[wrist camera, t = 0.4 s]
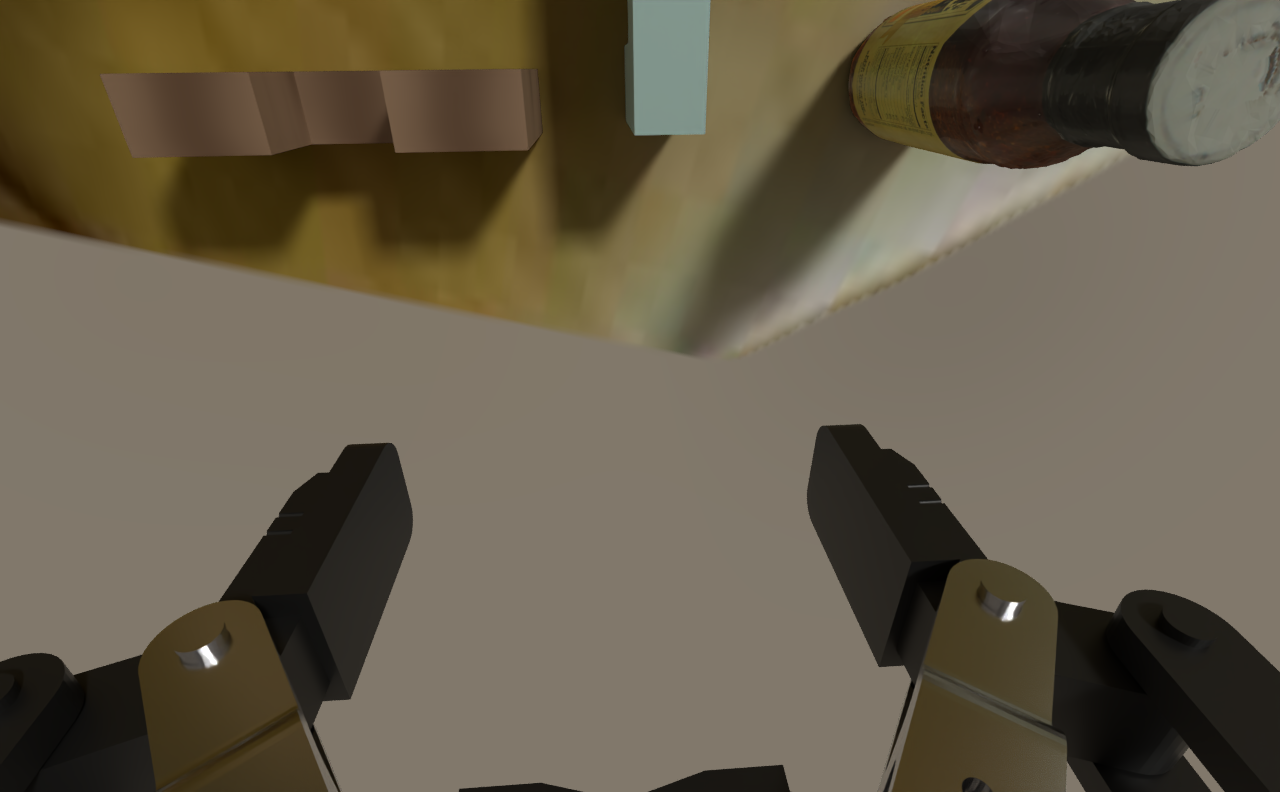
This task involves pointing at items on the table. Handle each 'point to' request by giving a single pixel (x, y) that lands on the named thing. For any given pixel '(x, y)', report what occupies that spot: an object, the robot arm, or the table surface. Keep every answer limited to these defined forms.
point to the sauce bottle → (1072, 79)
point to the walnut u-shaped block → (325, 110)
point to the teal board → (667, 66)
